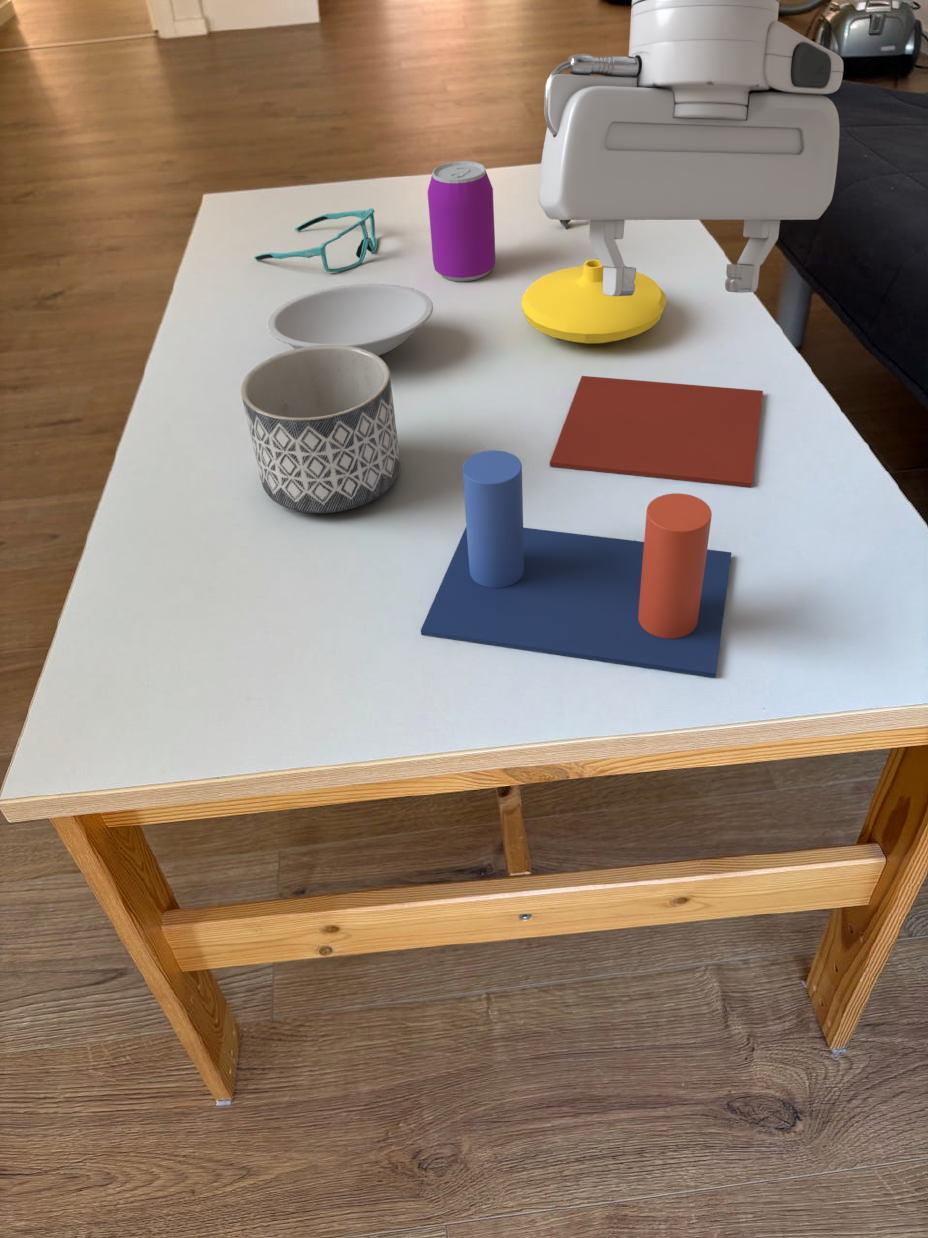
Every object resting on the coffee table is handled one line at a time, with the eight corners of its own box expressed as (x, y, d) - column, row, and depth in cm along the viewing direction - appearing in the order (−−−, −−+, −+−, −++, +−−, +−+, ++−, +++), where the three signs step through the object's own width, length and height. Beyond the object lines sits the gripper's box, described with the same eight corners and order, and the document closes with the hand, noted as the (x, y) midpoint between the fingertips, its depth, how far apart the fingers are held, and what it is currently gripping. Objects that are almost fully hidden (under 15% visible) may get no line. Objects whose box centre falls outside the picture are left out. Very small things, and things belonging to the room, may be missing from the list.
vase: (626, 284, 121) (629, 224, 116) (690, 341, 109) (696, 278, 105) (501, 310, 117) (499, 250, 113) (553, 372, 106) (553, 308, 101)
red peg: (700, 603, 78) (714, 496, 71) (694, 643, 75) (708, 534, 68) (642, 596, 79) (651, 489, 72) (634, 634, 76) (642, 526, 69)
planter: (396, 437, 99) (384, 337, 92) (407, 513, 89) (394, 409, 82) (265, 452, 98) (243, 352, 91) (262, 531, 89) (237, 427, 82)
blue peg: (529, 557, 83) (527, 453, 76) (517, 591, 80) (514, 486, 73) (477, 550, 84) (471, 447, 77) (463, 584, 81) (455, 480, 74)
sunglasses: (345, 281, 125) (336, 240, 122) (248, 277, 132) (237, 238, 129) (399, 237, 134) (392, 198, 131) (306, 235, 141) (297, 198, 138)
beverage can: (483, 286, 122) (478, 184, 114) (424, 280, 124) (415, 179, 116) (504, 260, 127) (501, 160, 119) (447, 255, 130) (440, 156, 122)
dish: (426, 316, 117) (422, 274, 114) (446, 376, 107) (443, 332, 103) (272, 337, 116) (264, 295, 112) (278, 400, 105) (269, 356, 102)
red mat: (762, 394, 101) (763, 390, 100) (751, 487, 89) (752, 482, 89) (581, 379, 105) (581, 375, 104) (549, 466, 93) (549, 461, 93)
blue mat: (730, 556, 82) (731, 551, 82) (715, 678, 73) (716, 673, 72) (468, 525, 88) (468, 520, 87) (420, 634, 78) (420, 630, 77)
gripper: (569, 44, 57) (559, 301, 63) (866, 62, 64) (834, 293, 69) (525, 58, 63) (519, 293, 68) (802, 72, 69) (778, 286, 75)
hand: (680, 293), depth 69 cm, fingers open, 8 cm apart
